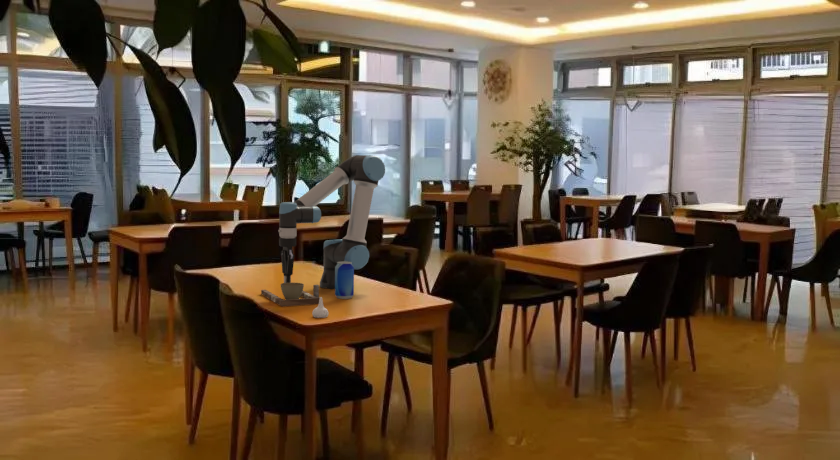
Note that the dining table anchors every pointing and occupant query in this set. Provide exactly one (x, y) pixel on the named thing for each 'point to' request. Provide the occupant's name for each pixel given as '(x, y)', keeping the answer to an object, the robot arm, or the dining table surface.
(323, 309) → the garlic bulb
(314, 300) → the rail channel
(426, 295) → the dining table surface
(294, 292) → the flower pot
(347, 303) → the dining table surface
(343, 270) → the beer can
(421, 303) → the dining table surface
